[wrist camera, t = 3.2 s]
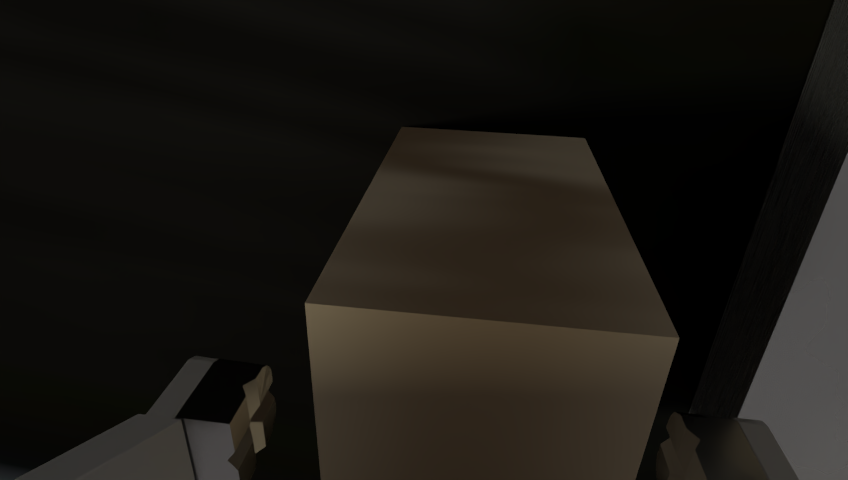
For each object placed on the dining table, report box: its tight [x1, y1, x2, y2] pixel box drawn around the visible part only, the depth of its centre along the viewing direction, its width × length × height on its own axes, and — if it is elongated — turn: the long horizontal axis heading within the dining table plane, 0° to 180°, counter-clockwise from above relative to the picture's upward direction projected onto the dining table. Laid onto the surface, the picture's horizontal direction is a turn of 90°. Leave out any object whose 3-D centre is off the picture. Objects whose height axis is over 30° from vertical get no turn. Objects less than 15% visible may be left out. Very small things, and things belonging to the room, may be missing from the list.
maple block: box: [305, 127, 679, 480], centre depth 11 cm, size 4×8×7 cm, turn 178°
